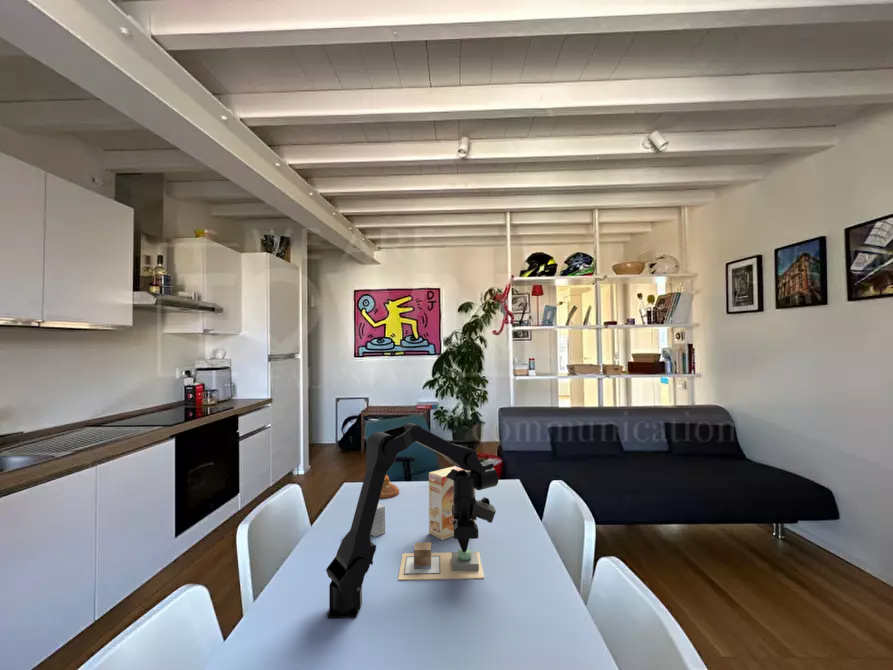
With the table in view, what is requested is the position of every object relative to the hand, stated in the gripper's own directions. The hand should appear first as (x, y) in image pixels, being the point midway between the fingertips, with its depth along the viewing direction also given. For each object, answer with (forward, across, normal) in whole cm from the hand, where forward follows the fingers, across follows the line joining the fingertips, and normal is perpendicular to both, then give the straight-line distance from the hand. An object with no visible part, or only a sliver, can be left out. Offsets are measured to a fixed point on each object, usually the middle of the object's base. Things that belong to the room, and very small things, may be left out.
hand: (464, 551), depth 118 cm
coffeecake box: (+4, +23, +2) cm, 23 cm away
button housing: (+4, 0, 0) cm, 4 cm away
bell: (+4, +60, +29) cm, 67 cm away
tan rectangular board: (+4, 0, +6) cm, 7 cm away
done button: (+3, 0, 0) cm, 4 cm away
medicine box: (+4, +23, +28) cm, 37 cm away
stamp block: (+3, 0, +11) cm, 12 cm away
